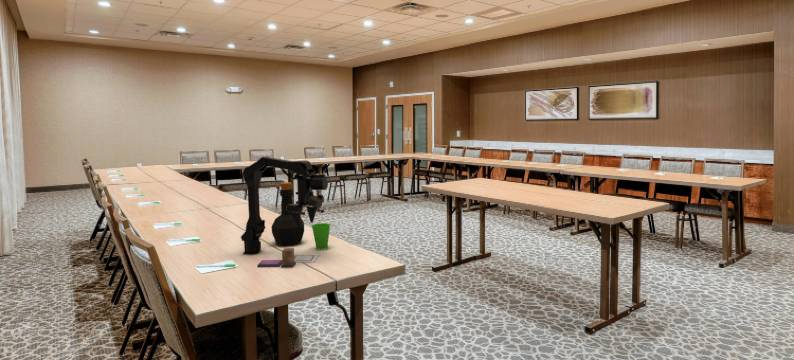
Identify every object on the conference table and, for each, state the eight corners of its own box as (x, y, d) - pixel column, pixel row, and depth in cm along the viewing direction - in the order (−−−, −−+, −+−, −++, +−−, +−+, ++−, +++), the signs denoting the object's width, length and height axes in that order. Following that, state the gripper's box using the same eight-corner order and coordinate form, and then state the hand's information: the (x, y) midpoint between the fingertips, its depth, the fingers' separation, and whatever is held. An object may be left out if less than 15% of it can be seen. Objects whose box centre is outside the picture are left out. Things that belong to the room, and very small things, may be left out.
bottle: (310, 244, 236) (307, 183, 233) (276, 249, 228) (273, 185, 225) (299, 237, 250) (297, 180, 246) (267, 242, 242) (264, 182, 238)
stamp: (281, 267, 199) (280, 251, 198) (284, 264, 204) (283, 247, 203) (293, 267, 199) (292, 251, 198) (296, 264, 204) (295, 247, 203)
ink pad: (257, 267, 200) (257, 264, 200) (262, 262, 207) (262, 259, 207) (279, 266, 200) (279, 264, 200) (283, 262, 207) (283, 259, 207)
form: (286, 262, 206) (286, 261, 206) (292, 255, 217) (292, 254, 217) (314, 262, 205) (314, 261, 205) (319, 255, 216) (319, 254, 216)
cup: (327, 250, 224) (326, 227, 222) (309, 250, 225) (308, 226, 224) (334, 245, 232) (333, 223, 231) (316, 245, 234) (315, 222, 233)
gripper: (305, 193, 201) (307, 230, 203) (331, 187, 217) (332, 221, 219) (284, 192, 206) (286, 228, 208) (311, 186, 222) (312, 220, 224)
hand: (305, 224), depth 215 cm, fingers open, 9 cm apart
